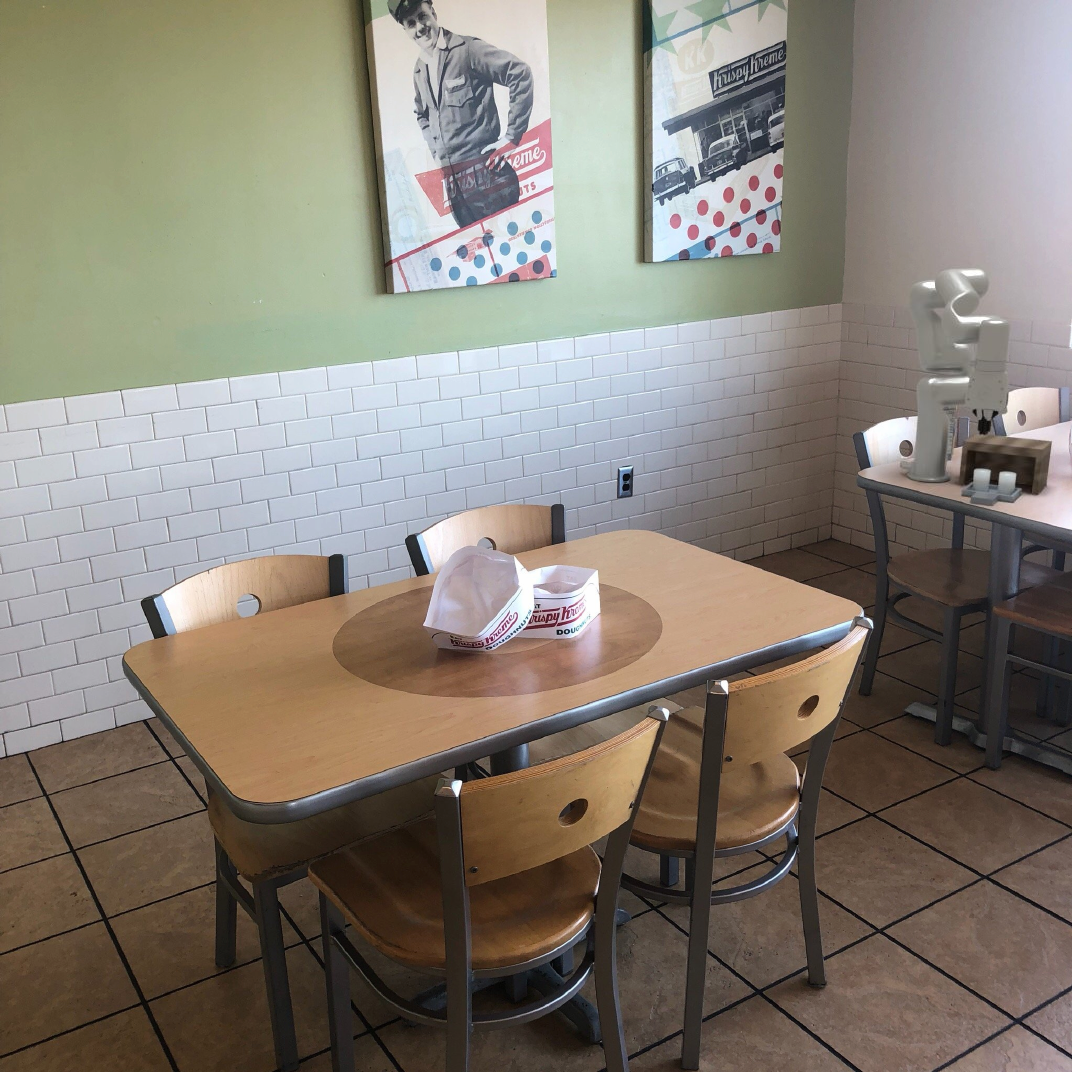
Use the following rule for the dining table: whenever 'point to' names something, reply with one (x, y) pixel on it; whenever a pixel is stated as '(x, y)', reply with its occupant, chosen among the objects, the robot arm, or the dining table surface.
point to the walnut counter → (1006, 459)
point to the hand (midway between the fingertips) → (983, 433)
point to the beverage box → (951, 428)
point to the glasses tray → (992, 488)
